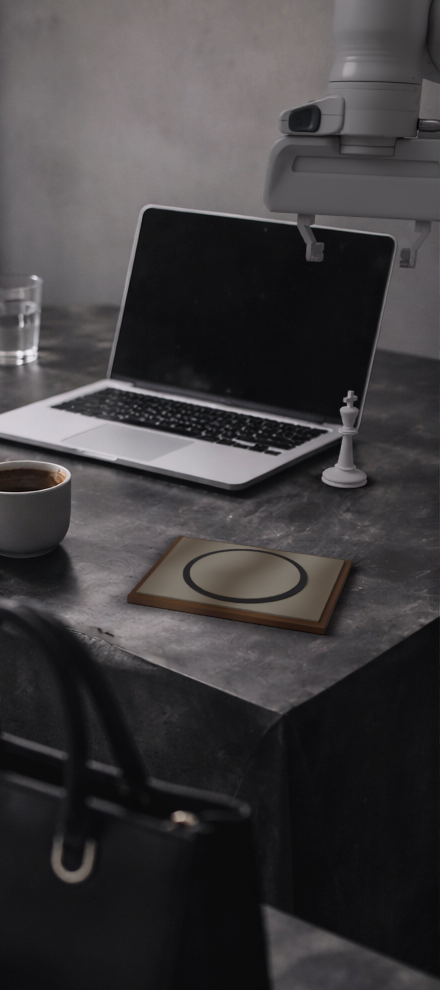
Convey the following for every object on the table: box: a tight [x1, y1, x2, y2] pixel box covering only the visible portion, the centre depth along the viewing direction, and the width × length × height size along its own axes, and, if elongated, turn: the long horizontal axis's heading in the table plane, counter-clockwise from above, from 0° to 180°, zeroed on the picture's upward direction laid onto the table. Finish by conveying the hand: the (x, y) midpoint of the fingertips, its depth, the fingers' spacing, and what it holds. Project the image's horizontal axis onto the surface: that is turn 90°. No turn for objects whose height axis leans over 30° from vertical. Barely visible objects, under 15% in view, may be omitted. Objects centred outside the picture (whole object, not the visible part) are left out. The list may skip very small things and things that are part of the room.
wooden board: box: [126, 535, 353, 635], centre depth 82 cm, size 16×13×1 cm
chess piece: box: [321, 390, 368, 489], centre depth 105 cm, size 5×5×10 cm
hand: (360, 264), depth 99 cm, fingers open, 8 cm apart
